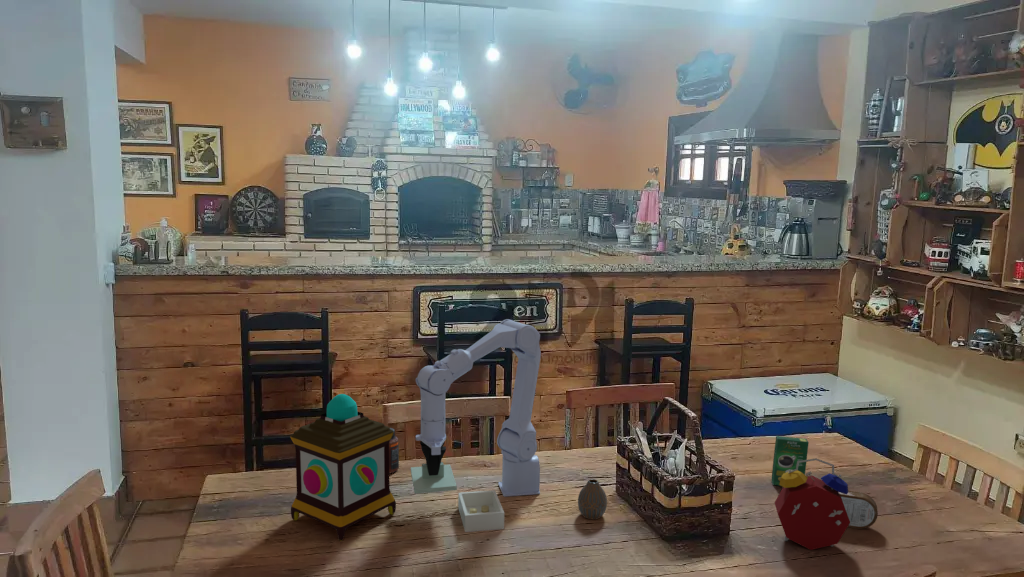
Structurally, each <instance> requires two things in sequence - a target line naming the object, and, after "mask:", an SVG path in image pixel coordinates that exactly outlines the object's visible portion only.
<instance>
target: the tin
mask: <svg viewBox="0 0 1024 577" xmlns="http://www.w3.org/2000/svg"><path fill="white" fill-rule="evenodd" d="M839 494H840V496H841V498H842V501H843V504H844V507H845V509H846V512H847V515H848V518H849V520H850V524H849V525H848V527H847V528H852V529H856V530H857V529H860V530H861V529H868V528H870V527H871V526H873V525H874V524H875V523H876V521H877V519H878V515H879V513H878V512H879V511H878V506H877V503H876V501H875V500H874V498H872V497H871V496H870V495H869V494H868V493H864V492H860V491H856V490H855V491H854V490H849V489H848V493H847V494H844V493H841V492H839Z"/></svg>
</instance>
